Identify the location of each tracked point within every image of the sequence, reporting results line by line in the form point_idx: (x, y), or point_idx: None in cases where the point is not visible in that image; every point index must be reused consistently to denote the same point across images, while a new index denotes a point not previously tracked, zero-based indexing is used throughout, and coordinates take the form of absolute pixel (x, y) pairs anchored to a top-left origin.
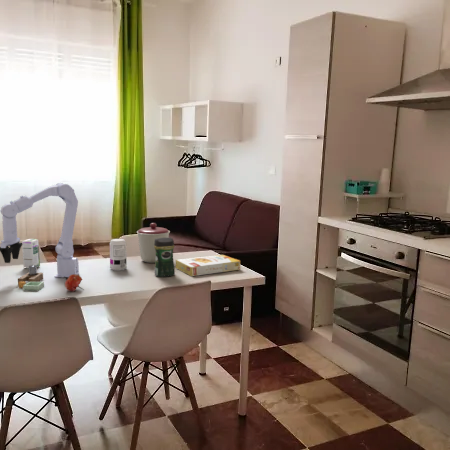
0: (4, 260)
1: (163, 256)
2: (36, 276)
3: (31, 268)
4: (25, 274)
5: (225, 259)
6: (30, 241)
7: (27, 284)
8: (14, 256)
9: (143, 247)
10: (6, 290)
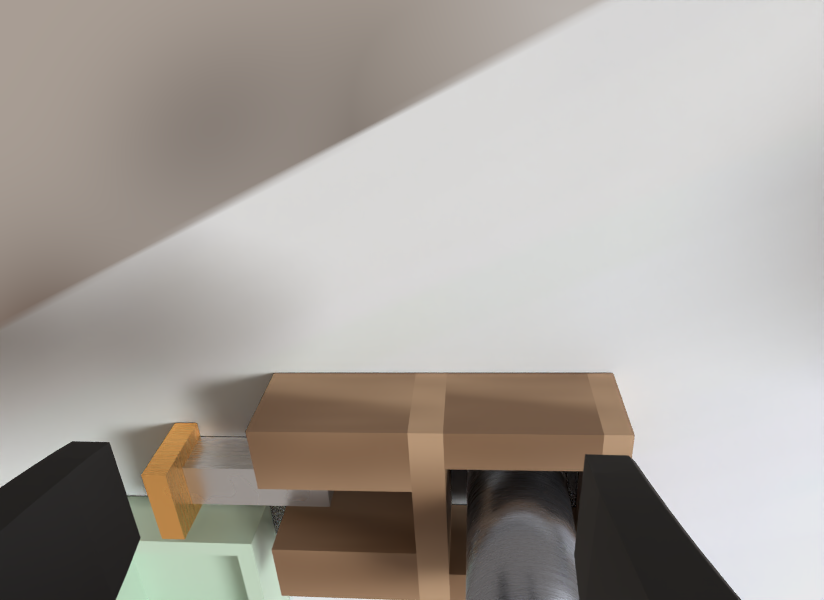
0: (13, 489)
1: None
2: (409, 591)
3: None
4: (506, 442)
5: None
6: None
7: (163, 546)
8: (597, 558)
9: None
10: (38, 334)
